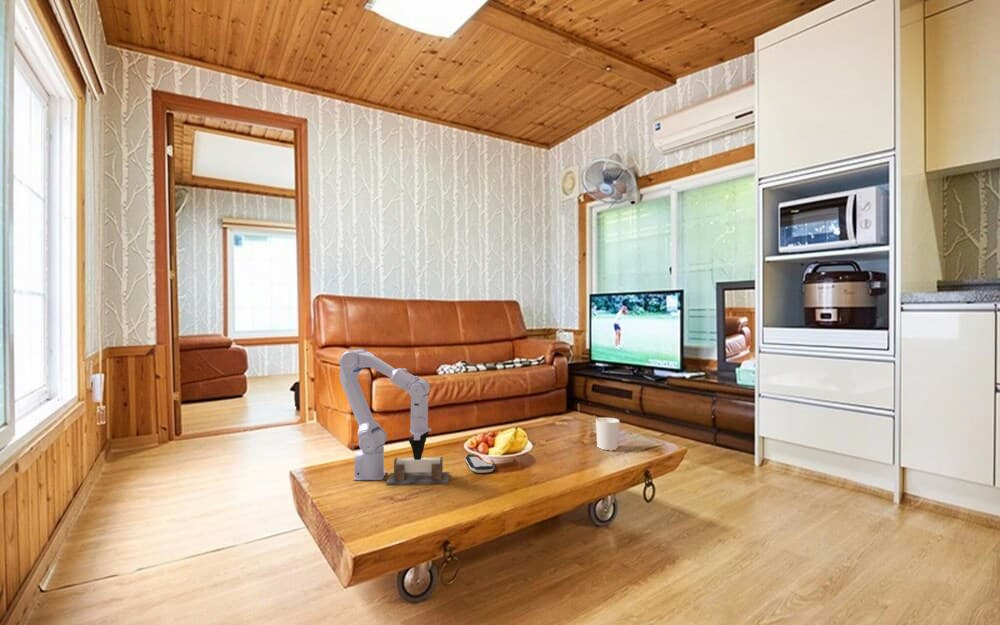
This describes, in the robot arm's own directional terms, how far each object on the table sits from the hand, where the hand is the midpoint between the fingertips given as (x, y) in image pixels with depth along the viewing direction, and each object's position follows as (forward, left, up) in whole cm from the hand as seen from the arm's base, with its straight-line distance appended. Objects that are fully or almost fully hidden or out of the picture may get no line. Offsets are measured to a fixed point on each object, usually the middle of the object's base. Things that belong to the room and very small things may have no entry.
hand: (418, 456), depth 159 cm
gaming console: (+21, +14, -9) cm, 27 cm away
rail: (0, 0, -5) cm, 5 cm away
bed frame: (0, 0, -8) cm, 8 cm away
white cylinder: (+75, +33, -8) cm, 82 cm away
